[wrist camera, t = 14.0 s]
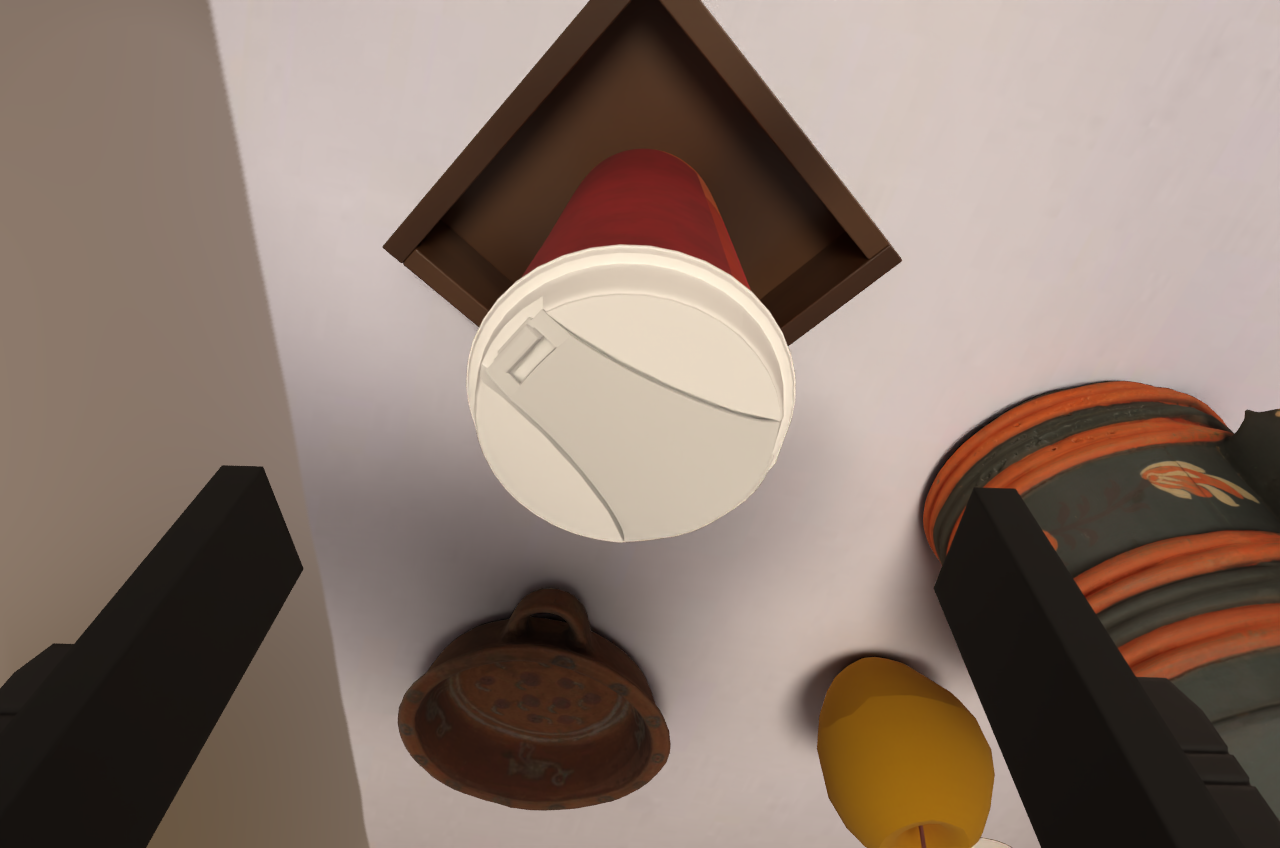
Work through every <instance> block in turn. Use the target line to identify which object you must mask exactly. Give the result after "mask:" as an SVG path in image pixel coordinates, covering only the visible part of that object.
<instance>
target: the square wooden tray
mask: <svg viewBox="0 0 1280 848" xmlns="http://www.w3.org/2000/svg"><path fill="white" fill-rule="evenodd" d="M632 149H655V150H660V151H664V152H667V153H669V154H672V155H674V156H676V157H678V158H680V159H681V160H683V161H684V162H686V163H687V164H688V165H690V166H691V167H692V168H693V169H694V170H695V171H696V172H697V173H698V174H699V176H700V177H701V178H702V179H703V181H704V182H705V184H706V186H707V187H708V189H709V191H710V193H711V195H712V197H713V199H714V201H715V203H716V205H717V208H718V210H719V212H720V215H721V217H722V219H723V222H724V224H725V227H726V229H727V232H728V234H729V237H730V239H731V241H732V244H733V246H734V249H735V251H736V254H737V256H738V259H739V261H740V264H741V267H742V269H743V272H744V274H745V277H746V279H747V282H748V284H749V287H750V289H751V291H752V292H753V293H754V295H755V296H756V297H757V298H758V299H759V300H760V301H761V302H762V303H763V305H764V306H765V307H766V308H767V309H768V310H769V311H770V313H771V315H772V316H773V318H774V319H775V321H776V323H777V324H778V326H779V328H780V329H781V331H782V333H783V335H784V338H785V340H786V343H787V346H789V345H791V344H792V343H793V342H795V341H796V340H797V339H799V338H800V337H801V336H803V335H804V334H805V333H807V332H808V331H809V330H811V329H812V328H813V327H815V326H816V325H817V324H819V323H820V322H821V321H823V320H824V319H825V318H827V317H828V316H829V315H831V314H832V313H833V312H835V311H836V310H837V309H839V308H840V307H841V306H843V305H844V304H845V303H847V302H848V301H849V300H851V299H852V298H853V297H855V296H856V295H857V294H859V293H860V292H861V291H863V290H864V289H865V288H867V287H868V286H869V285H871V284H872V283H873V282H875V281H876V280H877V279H879V278H880V277H881V276H883V275H884V274H885V273H887V272H888V271H890V270H891V269H892V268H894V267H895V266H896V265H898V264H899V263H900V262H901V261H902V259H901V257H900V256H899V255H898V253H897V252H896V251H895V250H894V248H893V247H892V246H891V244H890V243H889V242H888V240H887V239H886V238H885V236H884V235H883V234H882V232H881V231H880V230H879V228H878V227H877V226H876V224H875V223H874V222H873V221H872V219H871V218H870V217H869V215H868V214H867V213H866V212H865V210H864V209H863V208H862V206H861V205H860V204H859V203H858V201H857V200H856V199H855V197H854V196H853V195H852V194H851V192H850V191H849V190H848V188H847V187H846V186H845V185H844V183H843V182H842V181H841V179H840V178H839V177H838V176H837V174H836V173H835V172H834V171H833V169H832V168H831V167H830V165H829V164H828V163H827V162H826V160H825V159H824V158H823V156H822V155H821V154H820V153H819V151H818V150H817V149H816V147H815V146H814V145H813V144H812V142H811V141H810V140H809V138H808V137H807V136H806V135H805V133H804V132H803V131H802V129H801V128H800V127H799V126H798V124H797V123H796V122H795V121H794V119H793V118H792V117H791V115H790V114H789V113H788V112H787V110H786V109H785V108H784V106H783V105H782V104H781V103H780V101H779V100H778V99H777V97H776V96H775V95H774V94H773V92H772V91H771V90H770V88H769V87H768V86H767V85H766V83H765V82H764V81H763V79H762V78H761V77H760V76H759V74H758V73H757V72H756V70H755V69H754V68H753V67H752V65H751V64H750V63H749V62H748V60H747V59H746V58H745V56H744V55H743V54H742V53H741V51H740V50H739V49H738V47H737V46H736V45H735V44H734V42H733V41H732V40H731V38H730V37H729V36H728V35H727V33H726V32H725V31H724V29H723V28H722V27H721V26H720V24H719V23H718V22H717V20H716V19H715V18H714V17H713V15H712V14H711V13H710V12H709V10H708V9H707V8H706V6H705V5H704V4H703V3H702V1H701V0H590V1H589V2H588V3H587V4H586V5H585V7H584V8H583V9H582V10H581V11H580V13H579V14H578V15H577V16H576V17H575V18H574V20H573V21H572V22H571V23H570V24H569V26H568V27H567V28H566V29H565V30H564V32H563V33H562V34H561V35H560V36H559V37H558V39H557V40H556V41H555V42H554V43H553V45H552V46H551V47H550V48H549V49H548V51H547V52H546V53H545V54H544V55H543V56H542V58H541V59H540V60H539V61H538V62H537V64H536V65H535V66H534V67H533V68H532V70H531V71H530V72H529V73H528V74H527V75H526V77H525V78H524V79H523V80H522V81H521V83H520V84H519V85H518V86H517V87H516V89H515V90H514V91H513V92H512V93H511V94H510V96H509V97H508V98H507V99H506V100H505V102H504V103H503V104H502V105H501V106H500V108H499V109H498V110H497V111H496V112H495V113H494V115H493V116H492V117H491V118H490V119H489V121H488V122H487V123H486V124H485V125H484V127H483V128H482V129H481V130H480V131H479V132H478V134H477V135H476V136H475V137H474V138H473V140H472V141H471V142H470V143H469V144H468V146H467V147H466V148H465V149H464V150H463V152H462V153H461V154H460V155H459V156H458V157H457V159H456V160H455V161H454V162H453V163H452V165H451V166H450V167H449V168H448V169H447V171H446V172H445V173H444V174H443V175H442V176H441V178H440V179H439V180H438V181H437V182H436V184H435V185H434V186H433V187H432V188H431V190H430V191H429V192H428V193H427V194H426V195H425V197H424V198H423V199H422V200H421V201H420V203H419V204H418V205H417V206H416V207H415V209H414V210H413V211H412V212H411V213H410V214H409V216H408V217H407V218H406V219H405V220H404V222H403V223H402V224H401V225H400V226H399V228H398V229H397V230H396V231H395V232H394V233H393V235H392V236H391V237H390V238H389V239H388V241H387V242H386V243H385V244H384V245H383V248H384V249H385V250H386V251H387V252H388V253H390V254H391V255H392V256H393V257H394V258H396V259H397V260H398V261H399V262H400V263H403V264H404V265H405V266H406V267H407V268H408V269H409V270H411V271H412V272H413V273H414V274H415V275H417V276H418V277H419V278H420V279H421V280H423V281H424V282H425V283H426V284H427V285H429V286H430V287H431V288H432V289H433V290H435V291H436V292H437V293H438V294H440V295H441V296H442V297H443V298H444V299H446V300H447V301H448V302H449V303H450V304H452V305H453V306H454V307H455V308H456V309H458V310H459V311H460V312H461V313H462V314H464V315H465V316H466V317H467V318H468V319H470V320H471V321H472V322H473V323H474V324H476V325H477V326H478V327H480V325H481V323H482V321H483V319H484V317H485V316H486V315H487V313H488V312H489V310H490V309H491V308H492V306H493V305H494V303H495V302H496V301H497V299H498V298H499V297H500V296H501V295H502V294H503V293H505V292H506V291H507V290H508V289H509V288H510V287H511V286H512V285H513V284H514V283H515V282H516V281H517V280H519V279H520V278H522V276H523V274H524V273H525V271H526V269H527V268H528V266H529V265H530V263H531V262H532V260H533V259H534V257H535V256H536V254H537V253H538V251H539V250H540V248H541V247H542V245H543V244H544V242H545V240H546V239H547V237H548V236H549V234H550V232H551V231H552V229H553V227H554V226H555V224H556V222H557V221H558V219H559V217H560V215H561V214H562V212H563V210H564V209H565V207H566V206H567V204H568V202H569V201H570V199H571V197H572V196H573V194H574V193H575V191H576V190H577V188H578V187H579V185H580V184H581V182H582V181H583V180H584V178H585V177H586V176H587V175H588V174H589V173H590V171H591V170H592V169H593V168H595V167H596V166H597V165H598V164H599V163H601V162H602V161H604V160H605V159H607V158H609V157H611V156H613V155H615V154H617V153H620V152H623V151H627V150H632Z"/></svg>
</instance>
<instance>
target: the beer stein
mask: <svg viewBox="0 0 1280 848" xmlns="http://www.w3.org/2000/svg"><path fill="white" fill-rule="evenodd" d="M974 487H979V488H1014V489H1016V490H1017V491H1018V493H1019V494H1020V496H1021V498H1022V499H1023V501H1024V502H1025V504H1026V505H1027V507H1028V508H1029V510H1030V512H1031V513H1032V515H1033V516H1034V518H1035V519H1036V521H1037V523H1038V524H1039V526H1040V527H1041V529H1042V530H1043V532H1044V534H1045V535H1046V537H1047V538H1048V540H1049V541H1050V543H1051V545H1052V546H1053V548H1054V549H1055V551H1056V552H1057V554H1058V555H1059V557H1060V559H1061V560H1062V562H1063V563H1064V565H1065V566H1066V568H1067V570H1068V571H1069V573H1070V574H1071V576H1072V577H1073V579H1074V581H1075V582H1076V584H1077V585H1078V587H1079V588H1080V590H1081V591H1082V593H1083V595H1084V596H1085V598H1086V599H1087V601H1088V602H1089V604H1090V606H1091V607H1092V609H1093V610H1094V612H1095V613H1096V615H1097V617H1098V618H1099V620H1100V621H1101V623H1102V624H1103V626H1104V628H1105V629H1106V631H1107V632H1108V634H1109V635H1110V637H1111V638H1112V640H1113V642H1114V643H1115V645H1116V646H1117V648H1118V649H1119V651H1120V653H1121V654H1122V656H1123V657H1124V659H1125V660H1126V662H1127V664H1128V665H1129V667H1130V668H1131V670H1132V671H1133V673H1134V675H1135V676H1136V677H1158V678H1167V679H1168V680H1169V681H1170V682H1171V683H1173V684H1174V685H1175V686H1176V687H1177V688H1178V689H1179V690H1180V691H1182V692H1183V693H1184V694H1185V695H1186V696H1187V697H1188V698H1189V699H1190V700H1192V701H1193V702H1194V703H1195V704H1196V705H1197V706H1198V707H1199V708H1201V709H1202V710H1203V712H1204V713H1205V715H1206V716H1207V717H1208V719H1209V720H1210V722H1211V723H1212V725H1213V726H1214V728H1215V729H1216V730H1217V732H1218V733H1219V735H1220V736H1221V738H1222V739H1223V740H1224V742H1225V743H1226V745H1227V746H1228V752H1229V754H1230V755H1234V756H1235V758H1236V759H1237V761H1238V762H1239V763H1240V765H1241V766H1242V768H1243V769H1244V771H1245V772H1246V773H1247V775H1248V776H1249V778H1250V779H1249V782H1250V784H1251V785H1252V786H1256V788H1257V789H1258V791H1259V792H1260V794H1261V795H1262V796H1263V798H1264V799H1265V801H1266V802H1267V804H1268V805H1269V806H1270V808H1271V809H1272V811H1273V812H1274V814H1275V815H1276V817H1277V818H1278V819H1279V821H1280V409H1275V410H1270V411H1265V412H1254V411H1251V410H1246V411H1245V418H1244V421H1243V422H1242V424H1241V426H1240V428H1239V429H1238V431H1237V432H1236V433H1235V434H1234V433H1233V432H1232V431H1231V430H1230V429H1229V428H1228V427H1227V426H1226V424H1225V423H1224V422H1223V420H1222V419H1221V418H1220V417H1219V416H1218V415H1217V414H1216V413H1215V412H1214V411H1213V410H1212V409H1211V408H1210V407H1209V406H1208V405H1207V404H1205V403H1203V402H1202V401H1200V400H1198V399H1196V398H1195V397H1193V396H1190V395H1188V394H1185V393H1181V392H1177V391H1174V390H1172V389H1169V388H1162V387H1153V386H1151V385H1145V384H1142V383H1136V382H1128V381H1106V382H1101V383H1091V384H1089V385H1085V386H1080V387H1076V388H1071V389H1061V390H1057V391H1053V392H1049V393H1046V394H1043V395H1040V396H1037V397H1034V398H1032V399H1030V400H1027V401H1025V402H1023V403H1021V404H1019V405H1018V406H1016V407H1014V408H1012V409H1010V410H1009V411H1007V412H1005V413H1004V414H1002V415H1001V416H999V417H998V418H996V419H995V420H994V421H992V422H991V423H989V424H988V425H986V426H985V427H983V428H982V429H981V430H979V431H978V432H977V433H975V434H974V435H973V436H972V437H971V438H970V439H968V440H967V441H966V442H965V443H963V444H962V445H961V446H960V447H959V448H958V449H957V450H956V451H955V453H954V454H953V455H952V456H951V457H950V458H949V459H948V460H947V462H946V463H945V464H944V466H943V467H942V469H941V470H940V471H939V473H938V474H937V476H936V478H935V480H934V482H933V484H932V486H931V488H930V490H929V493H928V496H927V498H926V501H925V506H924V514H923V526H924V531H925V534H926V537H927V540H928V543H929V545H930V547H931V549H932V550H933V552H934V554H935V555H936V557H937V558H938V559H939V561H940V563H941V564H942V566H943V563H944V561H945V558H946V556H947V553H948V551H949V548H950V546H951V543H952V541H953V538H954V536H955V533H956V531H957V528H958V526H959V523H960V521H961V518H962V516H963V513H964V511H965V508H966V506H967V503H968V500H969V498H970V495H971V493H972V490H973V488H974Z"/></svg>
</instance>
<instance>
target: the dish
mask: <svg viewBox="0 0 1280 848" xmlns="http://www.w3.org/2000/svg"><path fill="white" fill-rule="evenodd" d="M545 612H547V613H552V614H556V615H558V616H560V617H562V618H563V619H564V620H566V621H567V623H566V622H561V621H557V620H551V619H545V618H537V617H530V616H531V615H532V614H535V613H545ZM398 727H399V732H400V736H401V738H402V741H403V743H404V745H405V747H406V749H407V750H408V752H409V753H410V755H411V756H412V758H413V759H414V760H415V761H416V762H417V763H418V764H419V765H420V766H421V767H423V768H424V769H425V770H426V771H427V772H428V773H429V774H430V775H431V776H432V777H434V778H435V779H437V780H438V781H440V782H441V783H443V784H445V785H447V786H449V787H451V788H452V789H454V790H457V791H460V792H462V793H465V794H468V795H471V796H474V797H477V798H480V799H483V800H486V801H490V802H494V803H498V804H501V805H505V806H508V807H510V808H519V809H526V810H562V809H575V808H581V807H586V806H592V805H597V804H601V803H606V802H611V801H614V800H617V799H619V798H622V797H624V796H626V795H628V794H630V793H632V792H634V791H636V790H638V789H640V788H641V787H642V786H644V785H645V784H647V783H648V782H649V781H650V780H651V779H652V778H653V777H654V776H655V775H657V773H658V772H659V771H660V770H661V769H662V767H663V766H664V765H665V764H666V762H667V759H668V756H669V753H670V736H669V730H668V727H667V725H666V722H665V719H664V717H663V715H662V714H661V712H660V710H659V709H658V707H657V706H656V705H655V702H654V699H653V696H652V693H651V690H650V688H649V685H648V683H647V680H646V678H645V677H644V675H643V673H642V671H641V670H640V669H639V667H638V666H637V665H636V664H635V663H634V661H633V660H632V659H631V658H630V657H629V656H628V655H627V654H626V653H625V652H623V651H622V650H621V649H620V648H619V647H617V646H616V645H614V644H613V643H611V642H610V641H608V640H607V639H605V638H603V637H601V636H600V635H598V634H596V633H594V632H592V631H591V630H590V626H589V621H588V616H587V613H586V611H585V609H584V607H583V605H582V604H581V603H580V601H579V600H578V599H577V598H576V597H575V596H573V595H572V594H570V593H568V592H566V591H562V590H559V589H540V590H537V591H534V592H531V593H530V594H528V595H527V596H525V597H524V598H523V599H522V600H521V601H520V603H519V604H518V605H517V607H516V609H515V610H514V612H513V613H512V615H511V617H510V619H507V620H501V621H495V622H491V623H487V624H484V625H481V626H478V627H475V628H473V629H472V630H470V631H468V632H466V633H464V634H463V635H461V636H459V637H458V638H456V639H455V640H454V641H453V642H452V643H451V644H450V645H448V646H447V647H446V648H445V649H444V650H443V652H442V653H441V654H440V655H439V656H438V658H437V659H436V660H435V662H434V663H433V664H432V666H431V667H430V668H429V670H428V671H427V673H426V674H424V675H423V676H422V677H420V678H419V679H418V680H417V681H416V682H414V683H413V684H412V686H411V687H410V688H409V689H408V690H407V692H406V693H405V695H404V697H403V700H402V702H401V704H400V706H399V713H398Z"/></svg>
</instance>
